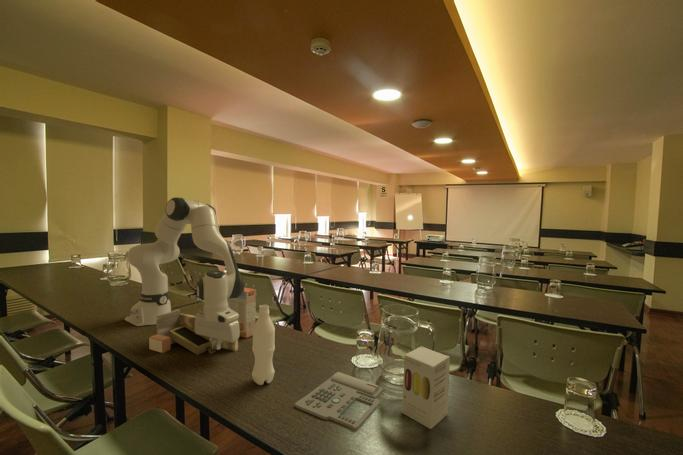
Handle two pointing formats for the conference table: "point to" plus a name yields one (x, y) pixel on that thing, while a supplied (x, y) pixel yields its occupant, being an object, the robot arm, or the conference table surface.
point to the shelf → (179, 319)
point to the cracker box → (245, 311)
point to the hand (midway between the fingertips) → (216, 348)
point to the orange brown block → (159, 343)
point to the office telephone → (340, 399)
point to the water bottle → (263, 347)
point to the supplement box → (425, 386)
